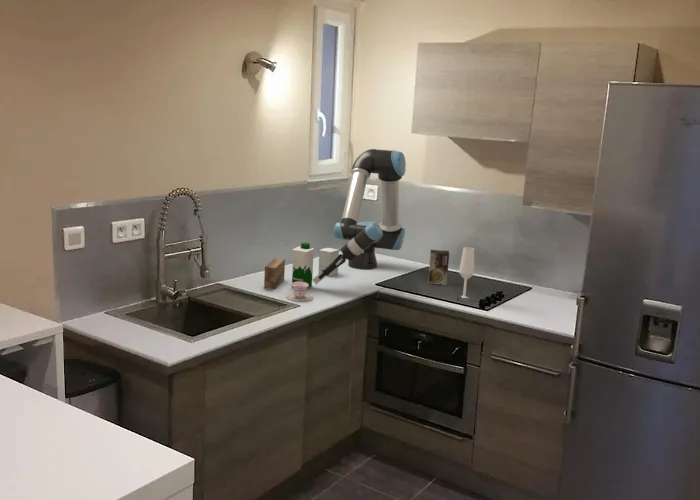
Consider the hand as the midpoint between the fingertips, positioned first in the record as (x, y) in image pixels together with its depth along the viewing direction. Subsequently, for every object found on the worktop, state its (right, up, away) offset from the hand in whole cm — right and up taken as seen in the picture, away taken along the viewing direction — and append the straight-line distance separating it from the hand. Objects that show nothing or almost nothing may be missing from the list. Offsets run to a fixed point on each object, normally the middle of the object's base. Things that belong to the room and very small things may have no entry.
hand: (314, 281), depth 323 cm
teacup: (-6, -7, -14) cm, 17 cm away
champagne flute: (+68, -8, -3) cm, 69 cm away
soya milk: (-6, -2, +2) cm, 7 cm away
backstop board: (-19, -1, +4) cm, 19 cm away
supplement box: (+5, +2, +26) cm, 26 cm away
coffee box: (+59, -2, +21) cm, 62 cm away
